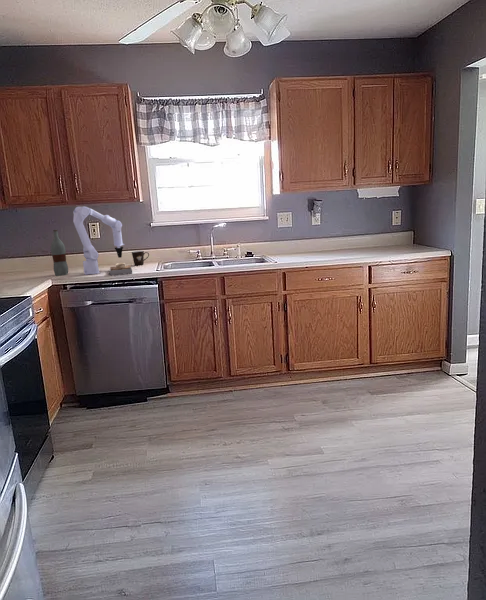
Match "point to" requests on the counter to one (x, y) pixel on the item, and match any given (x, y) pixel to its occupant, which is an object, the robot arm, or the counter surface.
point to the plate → (120, 268)
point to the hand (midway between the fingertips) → (120, 257)
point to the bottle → (59, 256)
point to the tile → (120, 265)
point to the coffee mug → (139, 257)
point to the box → (120, 272)
